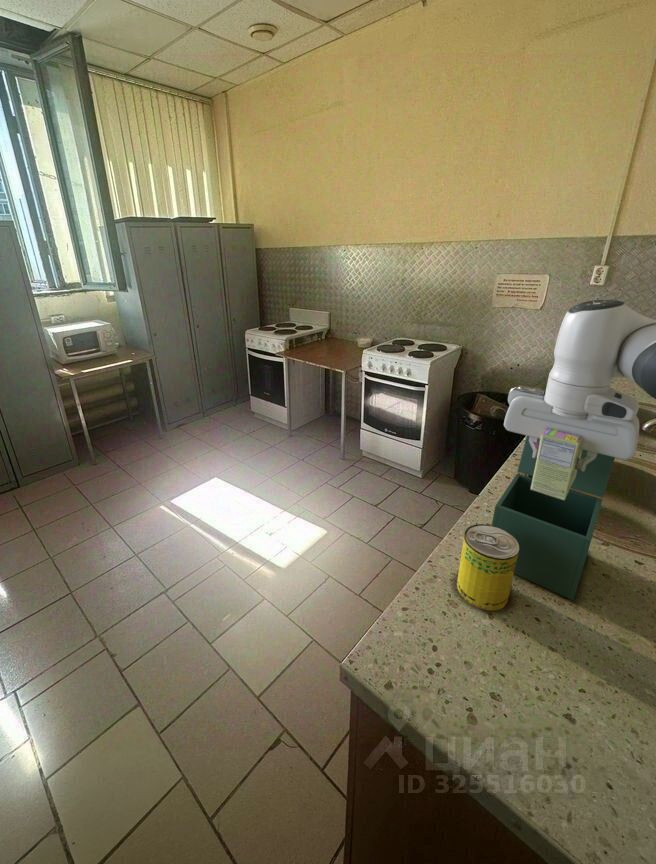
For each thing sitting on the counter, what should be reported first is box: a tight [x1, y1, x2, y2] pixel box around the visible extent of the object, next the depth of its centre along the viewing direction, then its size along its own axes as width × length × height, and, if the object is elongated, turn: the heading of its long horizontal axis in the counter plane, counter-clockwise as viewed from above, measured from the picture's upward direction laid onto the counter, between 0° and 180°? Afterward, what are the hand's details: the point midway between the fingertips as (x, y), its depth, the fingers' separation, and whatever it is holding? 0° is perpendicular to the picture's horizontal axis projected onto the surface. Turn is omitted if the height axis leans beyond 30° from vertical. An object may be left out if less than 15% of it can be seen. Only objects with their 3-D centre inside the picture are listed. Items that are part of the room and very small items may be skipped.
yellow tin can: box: [456, 523, 519, 611], centre depth 73 cm, size 9×9×12 cm
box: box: [531, 428, 582, 500], centre depth 74 cm, size 10×6×12 cm, turn 137°
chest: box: [491, 472, 603, 601], centre depth 81 cm, size 16×16×14 cm
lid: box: [516, 435, 616, 498], centre depth 83 cm, size 17×16×1 cm
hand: (558, 463), depth 74 cm, fingers closed on box, 5 cm apart
